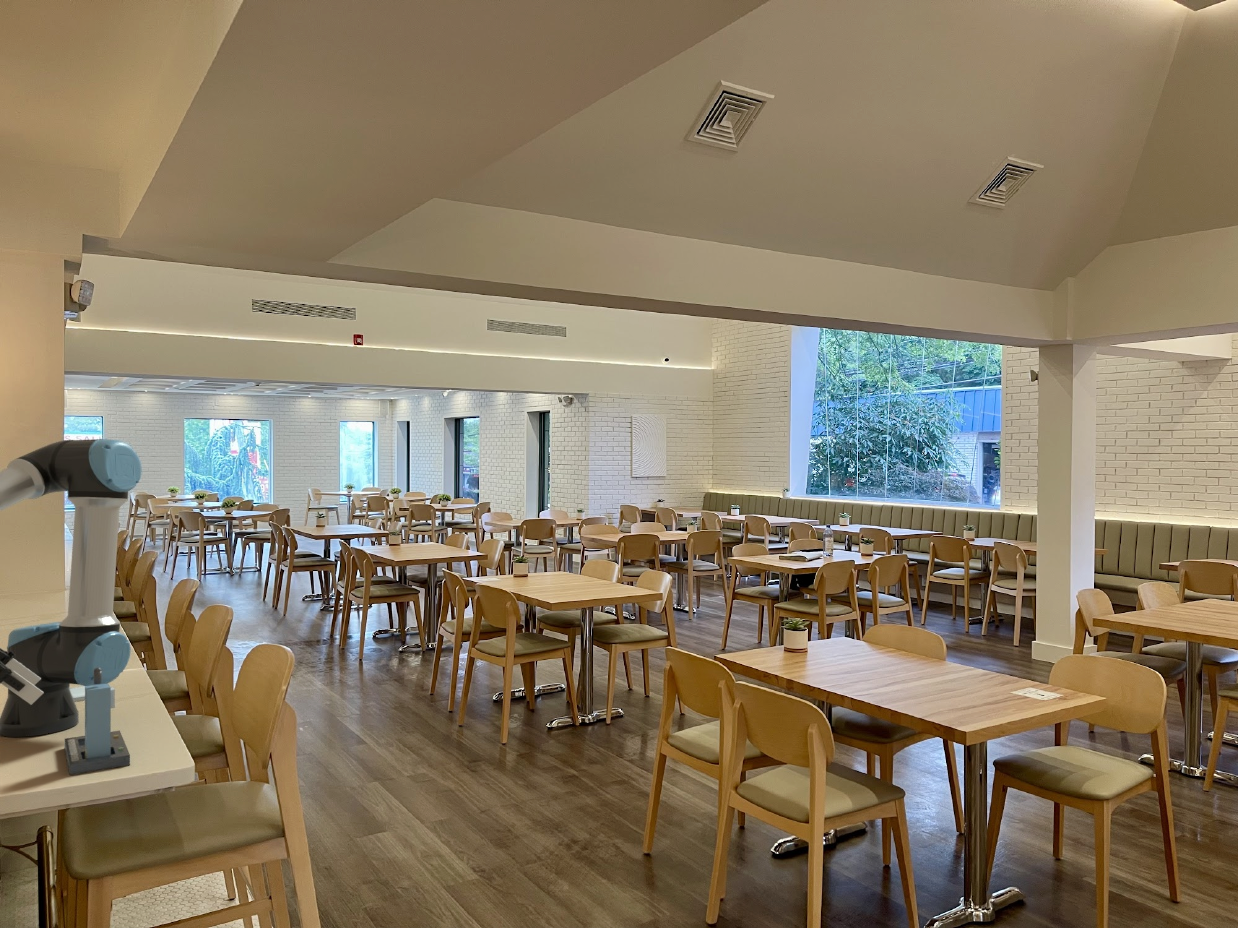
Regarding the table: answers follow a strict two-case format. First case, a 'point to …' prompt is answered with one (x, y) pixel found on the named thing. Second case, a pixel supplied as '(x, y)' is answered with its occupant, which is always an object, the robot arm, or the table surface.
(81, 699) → the hard drive
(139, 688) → the table surface
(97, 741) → the plug
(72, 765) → the port panel
